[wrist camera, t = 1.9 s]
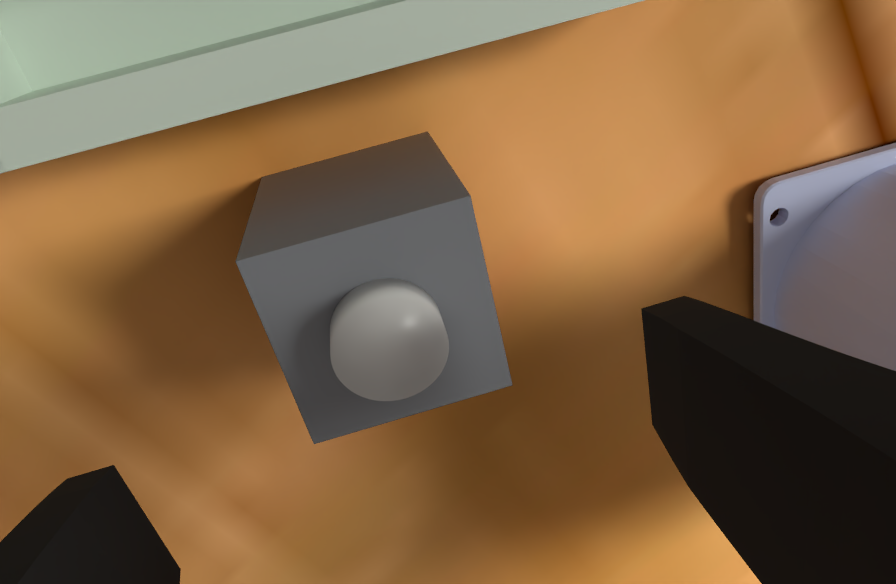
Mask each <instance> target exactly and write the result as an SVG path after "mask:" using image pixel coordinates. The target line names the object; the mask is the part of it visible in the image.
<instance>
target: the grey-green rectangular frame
mask: <svg viewBox="0 0 896 584" xmlns="http://www.w3.org/2000/svg"><path fill="white" fill-rule="evenodd" d="M640 1H644V0H0V173H4V172H7V171H11V170H15V169H19V168H22V167H26V166H30V165H33V164H37V163H41V162H45V161H48V160H52V159H56V158H59V157H63V156H67V155H71V154H74V153H78V152H82V151H86V150H89V149H93V148H97V147H100V146H104V145H108V144H112V143H115V142H119V141H123V140H126V139H130V138H134V137H138V136H141V135H145V134H149V133H152V132H156V131H160V130H164V129H167V128H171V127H175V126H179V125H182V124H186V123H190V122H193V121H197V120H201V119H205V118H208V117H212V116H216V115H219V114H223V113H227V112H231V111H234V110H238V109H242V108H246V107H249V106H253V105H257V104H260V103H264V102H268V101H272V100H275V99H279V98H283V97H286V96H290V95H294V94H298V93H301V92H305V91H309V90H313V89H316V88H320V87H324V86H327V85H331V84H335V83H339V82H342V81H346V80H350V79H353V78H357V77H361V76H365V75H368V74H372V73H376V72H379V71H383V70H387V69H391V68H394V67H398V66H402V65H406V64H409V63H413V62H417V61H420V60H424V59H428V58H432V57H435V56H439V55H443V54H446V53H450V52H454V51H458V50H461V49H465V48H469V47H473V46H476V45H480V44H484V43H487V42H491V41H495V40H499V39H502V38H506V37H510V36H513V35H517V34H521V33H525V32H528V31H532V30H536V29H539V28H543V27H547V26H551V25H554V24H558V23H562V22H566V21H569V20H573V19H577V18H580V17H584V16H588V15H592V14H595V13H599V12H603V11H606V10H610V9H614V8H618V7H621V6H625V5H629V4H633V3H636V2H640Z"/></svg>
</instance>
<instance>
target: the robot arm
mask: <svg viewBox="0 0 896 584" xmlns="http://www.w3.org/2000/svg"><path fill="white" fill-rule="evenodd" d="M778 208H779V212H778V215H777V216H776V217H775V219H773V220H771V221H770V217H771V214H772V213H773V212H774V211H775V210H776V209H778ZM642 320H643V330H644V341H645V351H646V361H647V372H648V382H649V393H650V403H651V414H652V424H653V426H654V428H655V430H656V432H657V433H658V435H659V437H660V439H661V441H662V442H663V444H664V446H665V448H666V449H667V451H668V453H669V455H670V456H671V458H672V460H673V462H674V463H675V465H676V467H677V468H678V470H679V472H680V473H681V475H682V477H683V478H684V480H685V482H686V483H687V485H688V487H689V488H690V489H691V491H692V492H693V493H694V495H695V496H696V498H697V499H698V500H699V502H700V503H701V504H702V506H703V507H704V508H705V510H706V511H707V512H708V514H709V515H710V516H711V518H712V519H713V520H714V522H715V523H716V524H717V526H718V527H719V528H720V530H721V531H722V532H723V534H724V535H725V536H726V538H727V539H728V540H729V541H730V543H731V544H732V545H733V547H734V548H735V549H736V551H737V552H738V553H739V555H740V556H741V557H742V558H743V560H744V561H745V562H746V564H747V565H748V566H749V568H750V569H751V570H752V572H753V573H754V574H755V575H756V577H757V578H758V579H759V581H760V582H761V583H762V584H896V143H893V144H889V145H886V146H882V147H879V148H875V149H872V150H868V151H865V152H861V153H858V154H854V155H851V156H847V157H844V158H840V159H837V160H833V161H830V162H826V163H823V164H819V165H816V166H812V167H809V168H805V169H802V170H798V171H795V172H791V173H788V174H784V175H781V176H777V177H774V178H771V179H769V180H767V181H765V182H764V183H763V184H762V185H761V186H759V188H758V190H757V191H756V193H755V197H754V320H751V319H748V318H746V317H743V316H740V315H738V314H735V313H732V312H730V311H727V310H724V309H722V308H719V307H716V306H713V305H710V304H708V303H705V302H702V301H699V300H696V299H692V298H689V297H686V296H683V297H679V298H676V299H672V300H669V301H666V302H662V303H659V304H656V305H652V306H649V307H645V308H642ZM0 584H180V568H179V566H178V565H177V563H176V562H175V560H174V558H173V557H172V555H171V554H170V552H169V551H168V549H167V548H166V546H165V544H164V543H163V541H162V540H161V538H160V537H159V535H158V533H157V532H156V530H155V529H154V527H153V526H152V524H151V523H150V521H149V519H148V518H147V516H146V515H145V513H144V512H143V510H142V508H141V507H140V505H139V504H138V502H137V501H136V499H135V498H134V496H133V494H132V493H131V491H130V490H129V488H128V487H127V485H126V484H125V482H124V480H123V479H122V477H121V476H120V474H119V473H118V471H117V469H116V468H115V466H114V465H112V466H109V467H105V468H102V469H99V470H95V471H92V472H88V473H85V474H82V475H78V476H75V477H72V478H68V479H66V480H65V481H64V482H63V483H62V484H60V485H59V486H58V487H57V488H56V489H55V490H54V491H52V492H51V493H50V494H49V495H48V496H47V497H46V498H45V499H44V500H43V501H41V502H40V503H39V504H38V505H37V506H36V507H35V508H34V509H33V510H32V511H31V512H30V513H29V514H28V515H27V516H26V517H25V518H24V519H23V520H22V521H21V522H20V523H19V524H18V525H17V526H16V527H15V528H14V529H13V530H12V531H11V532H10V533H9V534H8V535H7V536H6V537H5V538H4V539H3V540H2V541H1V542H0Z"/></svg>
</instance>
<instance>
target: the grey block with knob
mask: <svg viewBox="0 0 896 584" xmlns="http://www.w3.org/2000/svg"><path fill="white" fill-rule="evenodd" d="M236 264H237V266H238V268H239V271H240V273H241V275H242V278H243V280H244V282H245V285H246V287H247V289H248V292H249V294H250V296H251V299H252V301H253V303H254V306H255V308H256V310H257V313H258V315H259V317H260V319H261V322H262V324H263V326H264V329H265V331H266V333H267V336H268V338H269V340H270V343H271V345H272V347H273V350H274V352H275V354H276V357H277V359H278V361H279V364H280V366H281V368H282V371H283V373H284V375H285V378H286V380H287V382H288V385H289V387H290V389H291V392H292V394H293V396H294V399H295V401H296V403H297V406H298V408H299V410H300V413H301V415H302V417H303V420H304V422H305V424H306V427H307V429H308V431H309V434H310V436H311V438H312V441H313V443H314V444H316V443H320V442H323V441H326V440H330V439H333V438H337V437H340V436H343V435H347V434H350V433H353V432H357V431H360V430H363V429H367V428H370V427H374V426H377V425H380V424H384V423H387V422H390V421H394V420H397V419H400V418H404V417H407V416H411V415H414V414H417V413H421V412H424V411H427V410H431V409H434V408H438V407H441V406H444V405H448V404H451V403H454V402H458V401H461V400H464V399H468V398H471V397H475V396H478V395H481V394H485V393H488V392H491V391H495V390H498V389H502V388H505V387H508V386H512V380H511V376H510V371H509V367H508V362H507V358H506V353H505V349H504V345H503V340H502V336H501V331H500V327H499V322H498V318H497V313H496V309H495V304H494V300H493V295H492V291H491V286H490V282H489V277H488V273H487V268H486V264H485V259H484V255H483V250H482V246H481V241H480V237H479V232H478V228H477V223H476V219H475V214H474V210H473V205H472V201H471V196H470V194H469V193H468V191H467V190H466V188H465V187H464V185H463V184H462V182H461V181H460V179H459V178H458V176H457V175H456V173H455V172H454V170H453V169H452V167H451V166H450V164H449V163H448V161H447V160H446V158H445V157H444V155H443V154H442V152H441V151H440V149H439V148H438V146H437V145H436V143H435V142H434V140H433V139H432V137H431V136H430V134H429V133H428V132H424V133H421V134H417V135H413V136H410V137H406V138H402V139H399V140H395V141H391V142H388V143H384V144H381V145H377V146H373V147H370V148H366V149H362V150H359V151H355V152H351V153H348V154H344V155H341V156H337V157H333V158H330V159H326V160H322V161H319V162H315V163H311V164H308V165H304V166H300V167H297V168H293V169H290V170H286V171H282V172H279V173H275V174H271V175H268V176H264V177H262V178H261V181H260V185H259V188H258V191H257V194H256V197H255V201H254V204H253V207H252V210H251V214H250V217H249V220H248V223H247V226H246V230H245V233H244V236H243V239H242V243H241V246H240V249H239V252H238V255H237V259H236Z"/></svg>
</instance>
